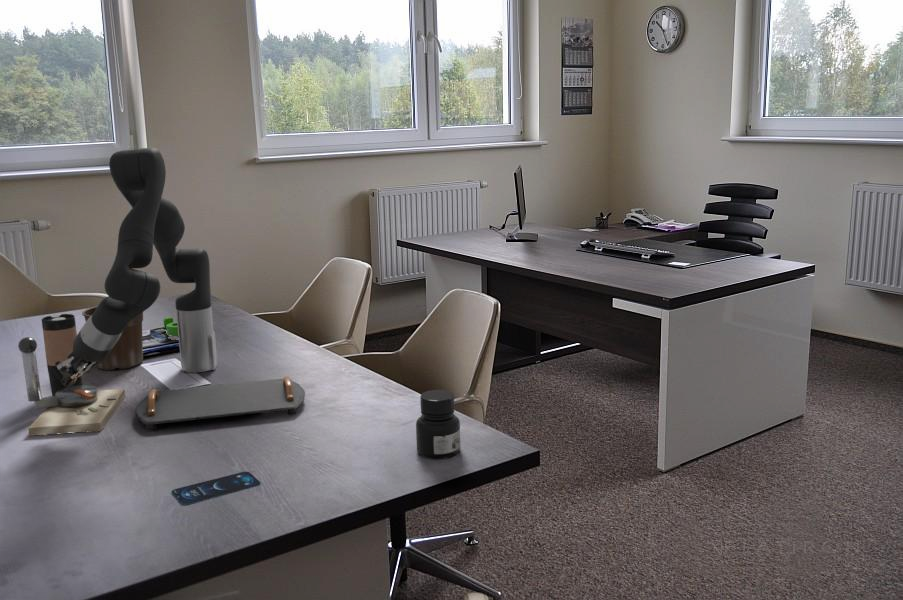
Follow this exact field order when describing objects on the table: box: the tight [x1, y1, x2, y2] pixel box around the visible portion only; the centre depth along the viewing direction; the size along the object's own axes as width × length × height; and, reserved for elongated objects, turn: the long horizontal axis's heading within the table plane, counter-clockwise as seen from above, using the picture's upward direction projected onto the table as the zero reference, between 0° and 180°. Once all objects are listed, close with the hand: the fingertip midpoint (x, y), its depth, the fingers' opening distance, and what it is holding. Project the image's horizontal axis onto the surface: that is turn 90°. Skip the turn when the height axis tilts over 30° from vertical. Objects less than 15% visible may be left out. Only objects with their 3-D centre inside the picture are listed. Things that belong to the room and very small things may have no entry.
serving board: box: [134, 376, 306, 432], centre depth 199 cm, size 39×23×6 cm, turn 105°
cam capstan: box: [17, 336, 98, 410], centre depth 195 cm, size 13×15×17 cm
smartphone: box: [171, 471, 262, 506], centre depth 157 cm, size 8×1×15 cm
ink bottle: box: [415, 389, 461, 459], centre depth 170 cm, size 10×9×12 cm
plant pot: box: [81, 305, 144, 371], centre depth 236 cm, size 16×16×16 cm
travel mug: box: [41, 313, 83, 396], centre depth 210 cm, size 8×8×20 cm
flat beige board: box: [27, 388, 126, 437], centre depth 197 cm, size 15×24×2 cm, turn 9°
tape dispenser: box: [162, 316, 178, 336], centre depth 268 cm, size 15×7×5 cm, turn 25°
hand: (66, 383), depth 188 cm, fingers closed
